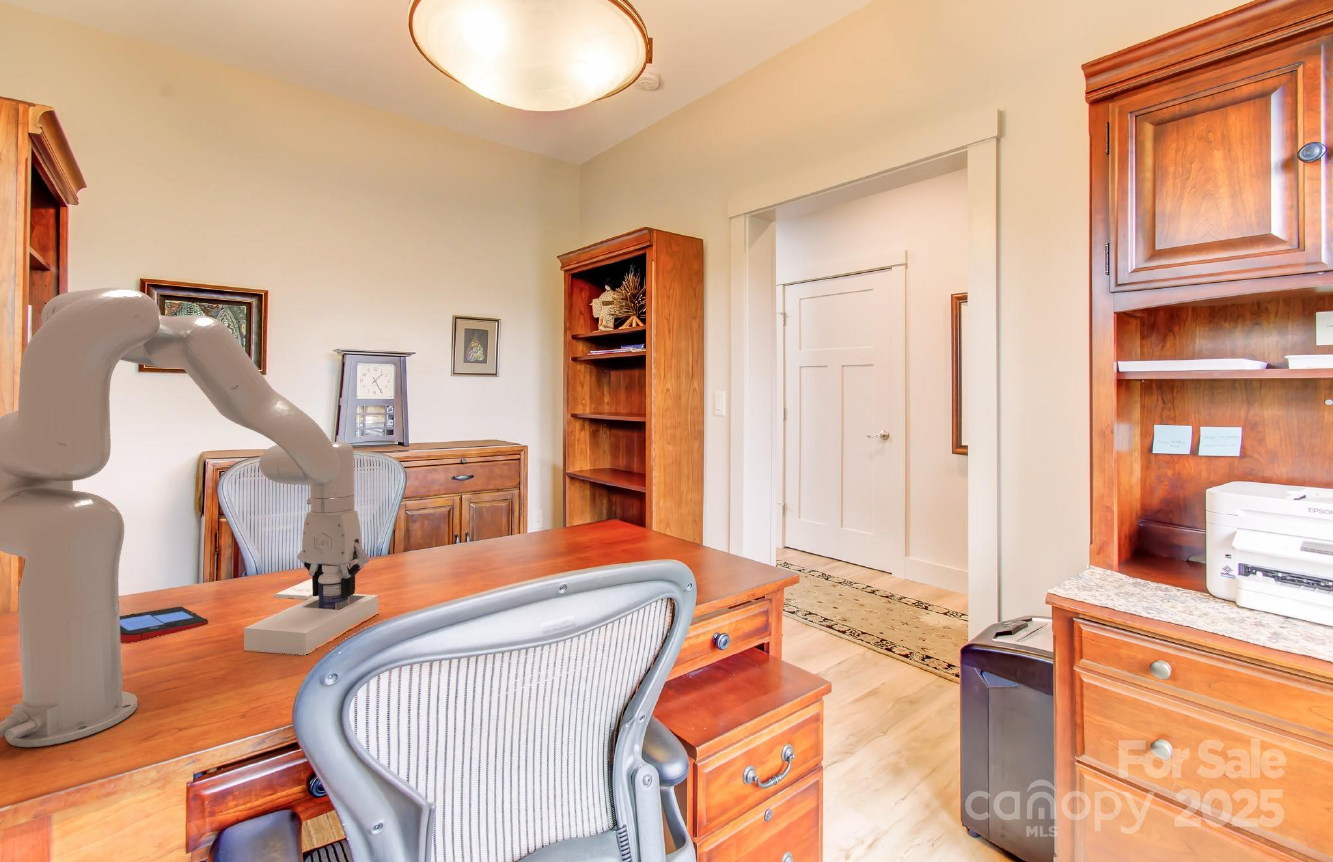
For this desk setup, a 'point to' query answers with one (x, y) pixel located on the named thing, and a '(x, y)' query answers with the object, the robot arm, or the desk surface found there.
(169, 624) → the game console
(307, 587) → the external hard drive
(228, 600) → the desk surface
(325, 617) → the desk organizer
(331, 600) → the pill bottle
